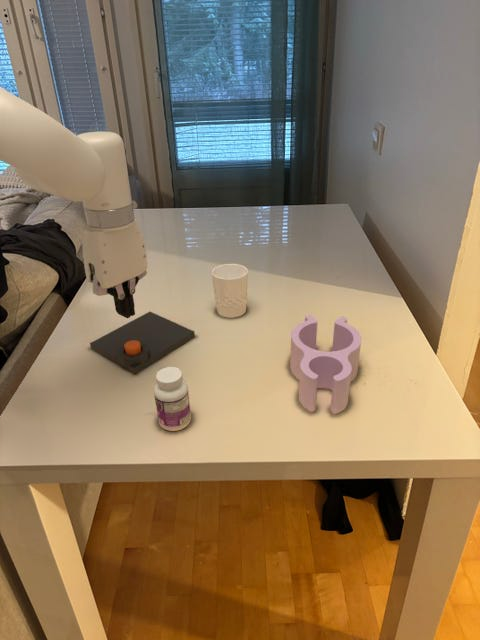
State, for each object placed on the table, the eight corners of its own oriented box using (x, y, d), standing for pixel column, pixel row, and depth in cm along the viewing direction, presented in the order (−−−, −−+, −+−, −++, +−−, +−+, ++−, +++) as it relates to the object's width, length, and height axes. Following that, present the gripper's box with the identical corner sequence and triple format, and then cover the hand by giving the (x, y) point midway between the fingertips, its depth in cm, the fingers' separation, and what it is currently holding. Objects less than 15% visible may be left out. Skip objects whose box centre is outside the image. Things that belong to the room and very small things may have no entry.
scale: (133, 375, 87) (131, 362, 85) (89, 349, 95) (86, 337, 93) (195, 337, 98) (193, 324, 96) (150, 316, 105) (149, 305, 104)
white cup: (248, 319, 103) (247, 278, 98) (213, 319, 103) (210, 279, 98) (248, 302, 110) (248, 263, 105) (215, 302, 110) (213, 263, 105)
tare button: (132, 357, 87) (131, 350, 87) (122, 352, 89) (120, 345, 88) (144, 350, 89) (143, 343, 89) (134, 345, 91) (133, 338, 90)
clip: (361, 416, 76) (366, 382, 72) (285, 409, 78) (286, 376, 74) (355, 347, 93) (359, 317, 89) (292, 343, 95) (293, 313, 91)
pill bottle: (156, 413, 78) (149, 367, 73) (188, 406, 79) (182, 360, 74) (161, 435, 74) (153, 388, 69) (194, 428, 75) (189, 381, 70)
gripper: (131, 200, 82) (144, 293, 91) (55, 223, 72) (78, 325, 81) (160, 207, 77) (170, 304, 87) (83, 233, 68) (104, 339, 77)
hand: (126, 314), depth 84 cm, fingers closed
